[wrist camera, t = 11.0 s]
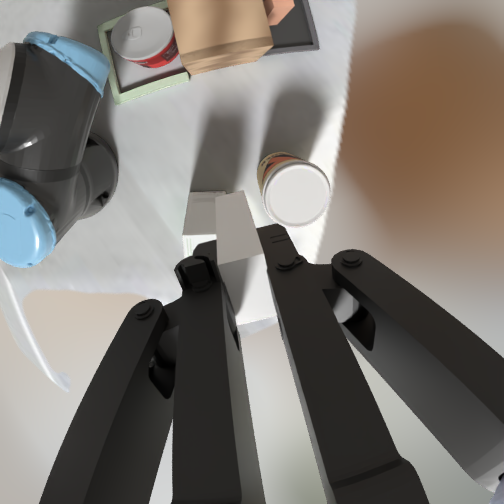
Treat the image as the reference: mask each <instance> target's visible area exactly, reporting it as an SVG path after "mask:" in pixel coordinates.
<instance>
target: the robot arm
mask: <svg viewBox="0 0 504 504" xmlns="http://www.w3.org/2000/svg"><path fill="white" fill-rule="evenodd" d="M109 72H110V63H109V60H108V59H107V57H106V56H105V55H104V54H102V53H101V52H99V51H98V50H96V49H94V48H92V47H90V46H87V45H85V44H83V43H80V42H77V41H75V40H72V39H69V38H66V37H62V36H61V37H58V36H57V35H53V34H50V33H46V32H38V31H35V32H31V33H29V34H28V35H27V36H26V37H25V38H24V40H23V44H22V43H12V42H10V43H8V44H6V45H5V46H4V47H3V48H1V49H0V259H1V260H3V261H4V262H6V263H8V264H10V265H12V266H15V267H20V268H28V267H32V266H34V265H36V264H38V263H39V262H41V261H42V260H43V259H44V258H45V257H46V256H47V255H49V254H50V253H51V252H52V251H53V250H54V247H55V246H56V244H57V243H58V242H59V241H60V240H61V238H62V237H63V236H64V235H65V234H66V233H67V232H68V230H69V229H70V228H71V227H72V226H73V225H74V224H75V223H76V221H77V220H80V219H84V218H88V217H91V216H93V215H95V214H96V213H98V212H99V211H100V210H102V209H103V208H104V207H105V205H106V204H107V203H108V202H109V201H110V199H111V198H112V196H113V194H114V192H115V189H116V186H117V181H118V167H117V162H116V159H115V156H114V154H113V152H112V150H111V148H110V147H109V146H108V144H107V143H106V142H105V141H104V140H103V139H102V138H100V137H99V136H97V135H95V134H93V133H90V129H91V125H92V122H93V119H94V116H95V113H96V110H97V107H98V104H99V101H100V98H102V97H103V95H104V92H103V90H104V86H105V83H106V80H107V78H108V75H109ZM215 206H216V239H215V240H211V241H208V242H204V243H200V244H198V245H197V246H196V247H195V249H194V250H193V255H192V256H189V257H187V258H185V259H183V260H181V261H180V262H179V263H178V264H177V265H176V267H175V269H174V271H175V273H176V276H177V278H178V280H179V283H180V285H181V288H182V290H183V291H182V297H180V298H179V299H177V300H175V301H174V302H172V303H169V304H167V305H165V306H163V305H162V303H161V302H160V301H158V300H156V299H148V300H144V301H142V302H139V303H138V304H136V305H135V306H134V307H133V308H132V309H131V310H130V311H129V312H128V314H127V316H126V318H125V319H124V321H123V323H122V324H121V326H120V328H119V330H118V332H117V333H116V335H115V337H114V339H113V341H112V343H111V344H110V346H109V348H108V350H107V352H106V354H105V356H104V357H103V359H102V361H101V363H100V365H99V367H98V369H97V371H96V373H95V375H94V377H93V379H92V381H91V383H90V385H89V387H88V389H87V391H86V393H85V395H84V397H83V399H82V401H81V403H80V405H79V407H78V409H77V412H76V414H75V416H74V418H73V420H72V422H71V425H70V427H69V429H68V431H67V434H66V436H65V439H64V440H63V443H62V445H61V447H60V450H59V452H58V455H57V457H56V460H55V462H54V465H53V467H52V470H51V472H50V475H49V477H48V480H47V483H46V486H45V488H44V491H43V494H42V497H41V500H40V502H39V504H149V501H150V497H151V493H152V490H153V486H154V482H155V479H156V475H157V472H158V468H159V464H160V461H161V457H162V454H163V450H164V447H165V443H166V440H167V437H168V433H169V430H170V426H171V423H172V419H173V444H172V484H173V498H172V502H171V504H266V502H265V497H264V491H263V485H262V479H261V473H260V468H259V461H258V455H257V449H256V442H255V436H254V430H253V423H252V418H251V411H250V404H249V397H248V390H247V384H246V377H245V370H244V363H243V356H242V348H241V341H240V335H239V332H238V329H237V326H236V321H237V324H238V325H241V324H246V323H250V322H254V321H258V320H262V319H267V318H271V317H275V316H277V317H278V322H279V326H280V331H281V336H282V340H283V341H284V344H285V348H286V352H287V355H288V359H289V363H290V366H291V370H292V373H293V377H294V380H295V384H296V388H297V392H298V395H299V399H300V403H301V406H302V410H303V414H304V417H305V421H306V425H307V428H308V432H309V436H310V439H311V443H312V447H313V450H314V454H315V458H316V462H317V465H318V469H319V473H320V477H321V480H322V484H323V488H324V492H325V495H326V499H327V504H429V501H428V499H427V496H426V494H425V491H424V488H423V486H422V483H421V481H420V478H419V476H418V474H417V472H416V470H415V468H414V467H413V466H412V464H411V463H410V462H409V461H407V460H406V459H404V458H402V457H401V456H400V454H399V453H398V451H397V449H396V447H395V445H394V442H393V440H392V437H391V435H390V433H389V430H388V428H387V426H386V423H385V421H384V419H383V417H382V414H381V412H380V410H379V408H378V405H377V403H376V401H375V398H374V396H373V394H372V392H371V390H370V387H369V385H368V383H367V381H366V379H365V377H364V375H363V372H362V370H361V368H360V366H359V364H358V362H357V359H356V357H355V355H354V353H353V351H352V349H351V347H350V345H349V343H348V341H347V339H348V340H349V341H350V342H351V343H352V344H353V346H354V347H355V348H356V349H357V350H358V351H359V352H360V353H361V354H362V355H363V357H364V358H365V359H366V360H367V361H368V362H369V363H370V364H371V365H372V366H373V368H374V369H375V370H376V371H377V372H378V373H379V374H380V375H381V377H382V378H383V379H384V380H385V381H386V382H387V383H388V384H389V385H390V387H391V388H392V389H393V390H394V391H395V392H396V393H397V395H398V396H399V397H400V398H401V399H402V400H403V401H404V402H405V403H406V405H407V406H408V407H409V408H410V409H411V410H412V411H413V413H414V414H415V415H416V416H417V417H418V418H419V419H420V420H421V421H422V423H423V424H424V425H425V426H426V427H427V428H428V430H429V431H430V432H431V433H432V434H433V435H434V436H435V438H436V439H437V440H438V441H439V442H440V443H441V444H442V446H443V447H444V448H445V449H446V450H447V451H448V452H449V453H450V455H451V456H452V457H453V458H454V459H455V460H456V462H457V463H458V464H459V465H460V466H461V467H462V469H463V470H464V471H465V472H466V473H467V474H468V475H469V476H470V477H471V478H472V479H473V480H474V481H476V482H477V483H478V484H480V485H481V486H482V487H484V488H485V489H487V490H489V491H491V492H493V493H495V494H494V496H493V497H492V498H491V500H490V503H489V504H504V358H503V357H502V356H501V355H499V354H498V353H497V352H496V351H495V350H494V349H492V348H491V347H490V346H489V345H487V343H485V342H484V341H483V340H482V339H481V338H479V337H478V336H477V335H476V334H475V333H473V332H472V331H471V330H470V329H468V328H467V327H466V326H465V325H463V324H462V323H461V322H460V321H458V320H457V319H456V318H455V317H453V316H452V315H451V314H450V313H448V312H447V311H446V310H445V309H443V308H442V307H440V306H439V305H438V304H436V303H435V302H434V301H433V300H431V299H430V298H429V297H427V296H426V295H425V294H424V293H422V292H421V291H419V290H418V289H417V288H415V287H414V286H413V285H411V284H410V283H409V282H407V281H406V280H405V279H403V278H402V277H400V276H399V275H398V274H396V273H395V272H393V271H392V270H391V269H389V268H388V267H386V266H385V265H384V264H382V263H381V262H379V261H378V260H376V259H375V258H373V257H372V256H371V255H369V254H367V253H365V252H364V251H361V250H355V249H351V250H344V251H341V252H339V253H337V254H335V255H334V256H333V258H332V260H331V262H332V263H331V264H311V263H308V262H307V260H306V259H305V258H304V257H303V256H301V255H299V254H298V252H297V250H296V248H295V246H294V244H293V242H292V241H291V239H290V237H289V235H288V233H287V231H286V229H285V227H283V226H281V225H279V224H278V223H277V224H273V225H268V226H264V227H260V228H256V227H255V224H254V221H253V218H252V215H251V212H250V208H249V205H248V202H247V199H246V196H245V193H244V190H242V191H238V192H234V193H230V194H226V195H222V196H218V197H215ZM346 338H347V339H346ZM151 359H152V360H151Z"/></svg>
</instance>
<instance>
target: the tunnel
mask: <svg viewBox="0 0 504 504" xmlns="http://www.w3.org/2000/svg"><path fill="white" fill-rule="evenodd" d="M167 4H168V8H169V13H170V17H171V21H172V25H173V29H174V34H175V38H176V42H177V46H178V50H179V54H180V58H181V62H182V65H183V66H184V67H185V68H186V69H187V71H188V72H189V73H190V74H191V75H195V74H199V73H203V72H207V71H211V70H216V69H220V68H224V67H229V66H234V65H239V64H244V63H250V62H255V61H257V60H258V59H259V58H260V57H261V56H262V55H264V54H265V53H266V52H267V51H268V50H269V49H270V48H272V47H273V46H274V44H273V40H272V36H271V32H270V28H269V24H268V20H267V16H266V12H265V8H264V5H263V1H262V0H167Z"/></svg>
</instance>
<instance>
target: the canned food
mask: <svg viewBox="0 0 504 504" xmlns="http://www.w3.org/2000/svg"><path fill="white" fill-rule="evenodd" d="M111 45H112V47H113V49H114V51H115V52H116V53H117V54H118V55H119V56H121V57H123V58H125V59H127V60H129V61H131V62H134V63H136V64H139V65H141V66H143V67H147V68H157V67H161V66H164V65H166V64H168V63H170V62H171V61H172V60H174V59H175V58H176V56H177V55H178V54H179V50H178V46H177V42H176V38H175V34H174V29H173V25H172V21H171V17H170V15H169V14H168V13H167V12H166V11H164V10H163V9H161V8H158V7H154V6H143V7H139V8H136V9H133V10H131V11H129V12H127V13H126V14H125V15H123V16H122V17H121V18H120V19H119V20H118V21H117V23H116V24H115V26H114V28H113V30H112V33H111Z"/></svg>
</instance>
